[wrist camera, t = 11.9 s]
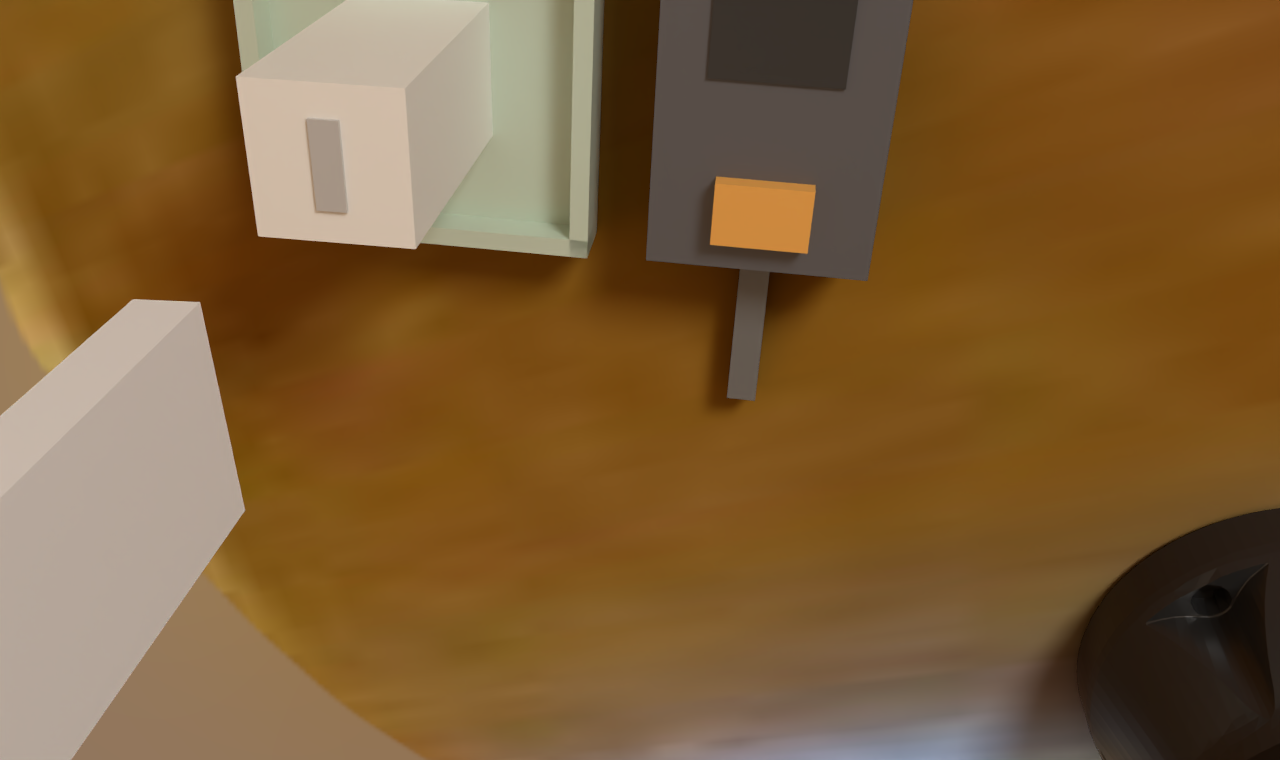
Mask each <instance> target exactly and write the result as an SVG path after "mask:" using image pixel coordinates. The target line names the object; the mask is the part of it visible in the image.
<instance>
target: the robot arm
mask: <svg viewBox="0 0 1280 760" xmlns="http://www.w3.org/2000/svg"><path fill="white" fill-rule="evenodd" d="M244 511H245V508H244V503H243V499H242V494H241V489H240V485H239V480H238V476H237V471H236V466H235V462H234V457H233V452H232V448H231V443H230V438H229V434H228V429H227V425H226V420H225V415H224V411H223V406H222V401H221V397H220V392H219V387H218V383H217V378H216V374H215V369H214V364H213V360H212V355H211V350H210V346H209V341H208V336H207V332H206V327H205V322H204V318H203V313H202V309H201V304H200V302H185V301H162V300H139V299H133V300H132V301H130V302H129V303H128V304H127V305H126V306H125V307H124V308H123V309H121V310H120V311H119V312H118V313H117V314H116V315H115V316H113V317H112V318H111V319H110V320H109V321H108V322H107V323H105V324H104V325H103V326H102V327H101V328H100V329H99V330H97V331H96V332H95V333H94V334H93V335H92V336H91V337H89V338H88V339H87V340H86V341H85V342H84V343H83V344H81V345H80V346H79V347H78V348H77V349H76V350H75V351H74V352H72V353H71V354H70V355H69V356H68V357H67V358H66V359H64V360H63V361H62V362H61V363H60V364H59V365H58V366H56V367H55V368H54V369H53V370H52V371H51V372H50V373H48V374H47V375H46V376H45V377H44V378H43V379H42V380H40V381H39V382H38V383H37V384H36V385H35V386H34V387H32V388H31V389H30V390H29V391H28V392H27V393H26V394H24V395H23V396H22V397H21V398H20V399H19V400H18V401H17V402H15V403H14V404H13V405H12V406H11V407H10V408H9V409H7V410H6V411H5V412H4V413H3V414H2V415H1V416H0V760H71V759H72V758H73V757H74V755H75V753H76V752H77V751H78V749H79V748H80V746H81V745H82V744H83V742H84V741H85V739H86V738H87V736H88V735H89V733H90V732H91V731H92V729H93V728H94V726H95V725H96V724H97V722H98V720H99V719H100V718H101V716H102V715H103V713H104V712H105V711H106V709H107V708H108V706H109V704H110V703H111V702H112V701H113V699H114V698H115V696H116V695H117V693H118V692H119V690H120V689H121V687H122V686H123V685H124V683H125V682H126V680H127V679H128V678H129V676H130V674H131V673H132V672H133V670H134V669H135V667H136V666H137V665H138V663H139V662H140V660H141V659H142V658H143V656H144V655H145V653H146V652H147V650H148V649H149V647H150V646H151V644H152V643H153V642H154V640H155V639H156V637H157V636H158V635H159V633H160V632H161V630H162V629H163V627H164V626H165V625H166V623H167V622H168V620H169V619H170V617H171V616H172V614H173V613H174V611H175V610H176V609H177V607H178V606H179V604H180V603H181V601H182V600H183V599H184V597H185V596H186V594H187V593H188V591H189V590H190V588H191V587H192V586H193V584H194V583H195V581H196V580H197V578H198V577H199V576H200V574H201V573H202V571H203V570H204V569H205V567H206V566H207V564H208V563H209V561H210V560H211V558H212V557H213V556H214V554H215V553H216V551H217V550H218V548H219V547H220V546H221V544H222V543H223V541H224V540H225V538H226V537H227V536H228V534H229V533H230V531H231V530H232V528H233V527H234V525H235V524H236V523H237V521H238V520H239V518H240V517H241V515H242V514H243V513H244ZM1077 683H1078V690H1079V694H1080V698H1081V702H1082V705H1083V709H1084V712H1085V716H1086V719H1087V723H1088V726H1089V730H1090V733H1091V736H1092V739H1093V741H1094V744H1095V746H1096V748H1097V750H1098V752H1099V754H1100V756H1101V758H1102V760H1280V508H1278V509H1271V510H1265V511H1260V512H1255V513H1250V514H1245V515H1242V516H1238V517H1234V518H1230V519H1227V520H1224V521H1221V522H1218V523H1215V524H1212V525H1209V526H1207V527H1204V528H1202V529H1199V530H1197V531H1195V532H1192V533H1190V534H1188V535H1186V536H1183V537H1182V538H1180V539H1178V540H1176V541H1174V542H1172V543H1170V544H1168V545H1167V546H1165V547H1163V548H1162V549H1160V550H1158V551H1157V552H1155V553H1154V554H1152V555H1151V556H1149V557H1148V558H1146V559H1145V560H1144V561H1142V562H1141V563H1140V564H1139V565H1137V566H1136V567H1135V568H1133V569H1132V570H1131V571H1130V572H1129V573H1128V574H1127V575H1126V576H1124V577H1123V578H1122V579H1121V580H1120V581H1119V582H1118V583H1117V584H1116V585H1115V586H1114V587H1113V589H1112V590H1111V591H1110V592H1109V593H1108V595H1107V596H1106V597H1105V598H1104V600H1103V601H1102V602H1101V604H1100V605H1099V607H1098V608H1097V610H1096V611H1095V613H1094V615H1093V616H1092V618H1091V620H1090V622H1089V624H1088V626H1087V628H1086V631H1085V633H1084V636H1083V639H1082V642H1081V645H1080V649H1079V654H1078V661H1077Z"/></svg>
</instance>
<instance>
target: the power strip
mask: <svg viewBox="0 0 1280 760" xmlns="http://www.w3.org/2000/svg"><path fill="white" fill-rule="evenodd" d="M912 5H913V0H661V1H660V19H659V37H658V54H657V72H656V90H655V108H654V125H653V143H652V161H651V179H650V196H649V214H648V232H647V250H646V260H648V261H659V262H670V263H681V264H691V265H702V266H713V267H724V268H734V269H740V273H739V282H738V292H737V302H736V312H735V322H734V332H733V342H732V351H731V361H730V371H729V381H728V391H727V398H734V399H744V400H753V401H755V395H756V386H757V378H758V369H759V361H760V352H761V343H762V335H763V326H764V317H765V309H766V300H767V292H768V283H769V274H770V272H778V273H788V274H799V275H810V276H821V277H831V278H842V279H853V280H864V281H867V280H868V274H869V268H870V262H871V255H872V249H873V243H874V237H875V231H876V225H877V219H878V213H879V207H880V200H881V194H882V188H883V182H884V176H885V170H886V164H887V158H888V151H889V145H890V139H891V133H892V127H893V121H894V115H895V109H896V102H897V96H898V90H899V84H900V78H901V72H902V66H903V60H904V54H905V47H906V41H907V35H908V29H909V23H910V17H911V11H912Z"/></svg>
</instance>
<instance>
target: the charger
mask: <svg viewBox="0 0 1280 760" xmlns="http://www.w3.org/2000/svg"><path fill="white" fill-rule="evenodd" d="M236 83H237V90H238V97H239V104H240V111H241V118H242V125H243V132H244V140H245V147H246V154H247V161H248V168H249V175H250V182H251V189H252V196H253V204H254V211H255V218H256V225H257V232H258V236H260V237H272V238H285V239H297V240H309V241H322V242H334V243H346V244H359V245H371V246H383V247H396V248H408V249H416V248H417V247H418V245H419V244H420V242H421V241H422V239H423V238H424V236H425V235H426V233H427V232H428V230H429V229H430V227H431V226H432V225H433V223H434V222H435V220H436V219H437V217H438V216H439V214H440V213H441V211H442V210H443V208H444V207H445V205H446V204H447V202H448V201H449V199H450V198H451V197H452V195H453V194H454V192H455V191H456V189H457V188H458V186H459V185H460V183H461V182H462V180H463V179H464V177H465V176H466V174H467V173H468V171H469V170H470V169H471V167H472V166H473V164H474V163H475V161H476V160H477V158H478V157H479V155H480V154H481V152H482V151H483V149H484V148H485V146H486V145H487V143H488V142H489V141H490V139H491V138H492V136H493V124H492V90H491V55H490V21H489V3H487V2H472V1H456V0H346V1H344V2H343V3H341V4H340V5H338V6H337V7H335V8H334V9H333V10H331V11H330V12H328V13H327V14H325V15H324V16H322V17H321V18H320V19H318V20H317V21H315V22H314V23H312V24H311V25H309V26H308V27H306V28H305V29H304V30H302V31H301V32H299V33H298V34H296V35H295V36H293V37H292V38H291V39H289V40H288V41H286V42H285V43H283V44H282V45H280V46H279V47H278V48H276V49H275V50H273V51H272V52H270V53H269V54H267V55H266V56H265V57H263V58H262V59H260V60H259V61H257V62H256V63H254V64H253V65H252V66H250V67H249V68H247V69H246V70H244V71H243V72H241V73H240V74H239V75H237V76H236Z"/></svg>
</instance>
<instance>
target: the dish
mask: <svg viewBox="0 0 1280 760" xmlns="http://www.w3.org/2000/svg"><path fill="white" fill-rule="evenodd" d="M344 1H346V0H233V3H234V11H235V19H236V27H237V35H238V43H239V51H240V60H241V68H242V72H243V71H244V70H246V69H247V68H249V67H250V66H252V65H253V64H254V63H256V62H257V61H259V60H260V59H262V58H263V57H265V56H266V55H267V54H269V53H270V52H272V51H273V50H275V49H276V48H278V47H279V46H280V45H282V44H283V43H285V42H286V41H288V40H289V39H291V38H292V37H293V36H295V35H296V34H298V33H299V32H301V31H302V30H304V29H305V28H306V27H308V26H309V25H311V24H312V23H314V22H315V21H317V20H318V19H320V18H321V17H322V16H324V15H325V14H327V13H328V12H330V11H331V10H333V9H334V8H335V7H337V6H338V5H340V4H341V3H343V2H344ZM456 1H472V2H487V3H489V21H490V55H491V90H492V124H493V136H492V138H491V139H490V141H489V142H488V143H487V145H486V146H485V148H484V149H483V151H482V152H481V154H480V155H479V157H478V158H477V160H476V161H475V163H474V164H473V166H472V167H471V169H470V170H469V171H468V173H467V174H466V176H465V177H464V179H463V180H462V182H461V183H460V185H459V186H458V188H457V189H456V191H455V192H454V194H453V195H452V197H451V198H450V199H449V201H448V202H447V204H446V205H445V207H444V208H443V210H442V211H441V213H440V214H439V216H438V217H437V219H436V220H435V222H434V223H433V225H432V226H431V227H430V229H429V230H428V232H427V233H426V235H425V236H424V238H423V239H422V241H421V242H420V243H427V244H438V245H449V246H460V247H470V248H481V249H492V250H502V251H513V252H524V253H535V254H545V255H556V256H567V257H578V258H587V257H588V255H589V252H590V249H591V246H592V244H593V241H594V238H595V236H596V233H597V212H598V181H599V151H600V120H601V89H602V58H603V28H604V0H456Z"/></svg>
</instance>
